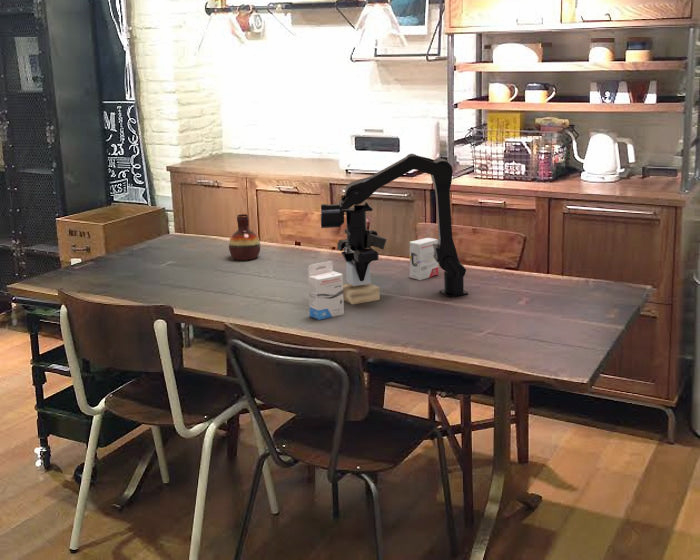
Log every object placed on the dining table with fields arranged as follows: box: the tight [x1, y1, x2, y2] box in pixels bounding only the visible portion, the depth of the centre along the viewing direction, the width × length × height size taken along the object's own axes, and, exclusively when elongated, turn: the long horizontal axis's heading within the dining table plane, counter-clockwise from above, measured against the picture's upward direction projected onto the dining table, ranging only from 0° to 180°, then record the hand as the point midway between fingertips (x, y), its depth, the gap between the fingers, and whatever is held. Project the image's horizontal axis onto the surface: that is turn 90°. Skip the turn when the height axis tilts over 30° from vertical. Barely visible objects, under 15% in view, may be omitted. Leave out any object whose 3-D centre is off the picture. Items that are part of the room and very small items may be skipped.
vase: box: [228, 213, 261, 261], centre depth 309 cm, size 11×11×15 cm
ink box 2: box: [409, 237, 439, 281], centre depth 277 cm, size 9×5×12 cm, turn 129°
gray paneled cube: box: [345, 261, 372, 286], centre depth 257 cm, size 6×6×6 cm
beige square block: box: [343, 282, 381, 305], centre depth 258 cm, size 9×9×4 cm
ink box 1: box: [307, 260, 345, 321], centre depth 242 cm, size 8×5×15 cm, turn 125°
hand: (358, 278), depth 257 cm, fingers closed on gray paneled cube, 5 cm apart
